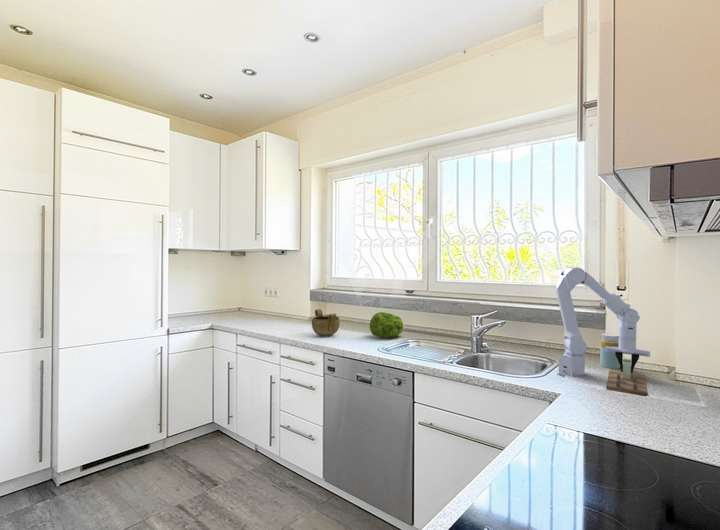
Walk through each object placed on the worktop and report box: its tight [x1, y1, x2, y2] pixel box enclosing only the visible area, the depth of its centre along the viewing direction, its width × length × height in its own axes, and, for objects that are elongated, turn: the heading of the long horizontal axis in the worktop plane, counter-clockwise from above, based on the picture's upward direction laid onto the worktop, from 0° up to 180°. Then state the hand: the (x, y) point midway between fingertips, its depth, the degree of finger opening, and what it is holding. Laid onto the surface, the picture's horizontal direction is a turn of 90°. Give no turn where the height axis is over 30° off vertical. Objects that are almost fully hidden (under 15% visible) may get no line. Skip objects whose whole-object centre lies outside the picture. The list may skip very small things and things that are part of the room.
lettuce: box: [369, 311, 405, 339], centre depth 230 cm, size 16×21×15 cm
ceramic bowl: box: [311, 308, 341, 338], centre depth 234 cm, size 22×17×15 cm
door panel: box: [623, 357, 631, 380], centre depth 152 cm, size 10×2×6 cm, turn 145°
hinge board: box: [605, 369, 649, 397], centre depth 146 cm, size 26×12×3 cm, turn 145°
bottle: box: [599, 332, 620, 370], centre depth 165 cm, size 7×7×15 cm
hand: (626, 372), depth 152 cm, fingers closed on door panel, 2 cm apart
